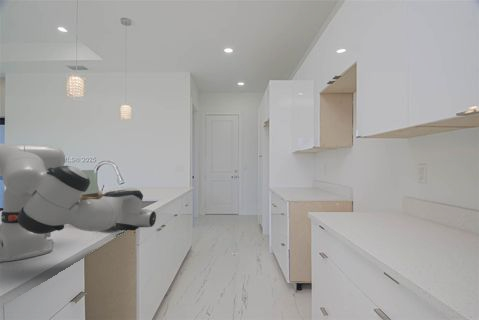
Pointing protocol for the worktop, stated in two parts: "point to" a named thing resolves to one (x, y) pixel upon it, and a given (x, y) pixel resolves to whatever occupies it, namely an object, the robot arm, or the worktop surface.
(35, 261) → the worktop surface
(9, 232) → the robot arm
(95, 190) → the lid
